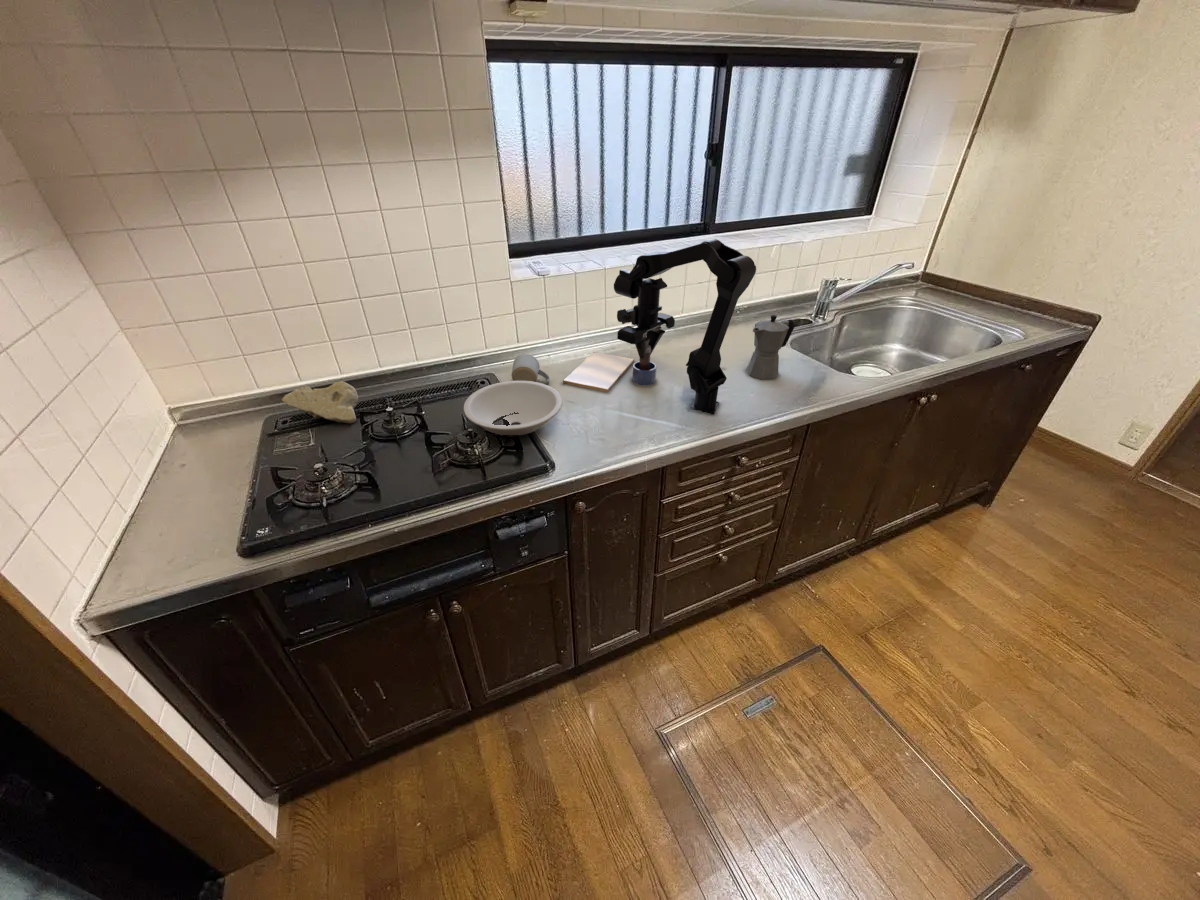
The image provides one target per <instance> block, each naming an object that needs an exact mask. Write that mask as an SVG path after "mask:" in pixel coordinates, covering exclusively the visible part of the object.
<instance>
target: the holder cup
mask: <svg viewBox="0 0 1200 900" xmlns="http://www.w3.org/2000/svg"><path fill="white" fill-rule="evenodd" d="M639 362H640V360H639V361H638V360H637V361H634V362H633V363H632V375H631V380H632V382H633V383H634V384H636V385H640V386H650V385H653V384H655V382H656V381H657V368H658V367H657V364H656V363H655V362H653V361H650V370H640V369H639Z"/></svg>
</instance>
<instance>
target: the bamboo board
mask: <svg viewBox="0 0 1200 900" xmlns="http://www.w3.org/2000/svg"><path fill="white" fill-rule="evenodd" d="M634 363H635V358H632V357H626V356H625V357H624V356H620V355H615V354H614V355H613V354H607V353H602V352H596V351H593V352H592V353H590V355H588V357H586V358H585V359H584V360H583V361H582V362H581V363H580V364H579V365H577V367H576V368H575V369H573V371H572V372H570V373H569V374H568V375H567V376H566V377H565V378H564V379H563V380H562V383H563V385H566V384H567V385H573V386H578V387H583V388H588V389H592V390H597V391H603V392H606V393H607V392H609V391H610V390H611V389H612V387H614V385H615V384H616V383H617V382H618V381H619V380H620V378H621V377H622V376H623V375H624V374H625V372H626V371H627V370H628V369H629V368H630V367H631V365H633V364H634Z"/></svg>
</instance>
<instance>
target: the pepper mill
mask: <svg viewBox="0 0 1200 900" xmlns="http://www.w3.org/2000/svg"><path fill="white" fill-rule="evenodd" d="M650 354H651V355H652V353H651V346H650V345H648V346H647V349H646V353H645V355H644V358H643V359H641V358H640V357H639V361H640V362H639V369H640V370H650V362H651V355H650Z"/></svg>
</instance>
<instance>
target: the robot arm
mask: <svg viewBox="0 0 1200 900" xmlns="http://www.w3.org/2000/svg"><path fill="white" fill-rule="evenodd" d="M699 261H703V262H704V263H705V264H706V266H707V267H708V269H709V271H710V272H711V274H713V275H714V276H715V277H716V282H715V285H716V292H717V298H716V300H715V303H714V306H713V309H712V311H711V315H710V318H709V321H708V323H707V327H706V329H705V330H706V331H705V333H704V336H703V338H702V342H701V345H700V347H698V348H696V349H694V350H692V351H690V353H689V355H688V361H687V363H686V364H685V366H686V374H687V375H688V380H689V386H690V390H693V391H694V392H695V394H694V399H693V402H692V404H691V405H690V410H693V411H699V412H701V413H705V414H709V415H715V414H716V411H717V409H718V407H719V405H720V402H719V401H718V395H719V394H718V393H719V387H720V386H722V385H725V382H726V381H727V375H726V374H725V373H724V371H723V369H722V367H721V362H722V355H721V348H722V345H723V342H724V339H725V336H726V334H727V331H728V328H729V326H730V323H731V320H732V318H733V315H734V312H735V310H736V306H737V304H738V301H739V299H740V297H741V296H742V295H743V293H744V292H745V291H747V288H749V286H750V284H751V282H752V281H753V279H754V277H755V275H756V272H757V266H756V264H755V261H754V260H753V259H752V257H750V256H748V255H744V254H743V253H742V252H740V251H738V250H737V249H735V248H732V247H730V246H728V245H726V244H724V243H723V242H722V241H721V240H719V239H717V238H711V239H707V240H704V241H702V242H701V243H698V244H694V245H691V246H687V247H683V248H680V249H676V250H673V251H666V250H660V251H653V252H650V253H645V254H642V255H639V256H638V257H637V258H636V261H635V264H634V265H633V267H632V268H631V270H629V269H627V268H622V269H620V270H619V271H618V272H619V273H618V275H617V276H616V278H615V280H614V283H613V291H614V293H616V294H617V295H619V296H624V297H627V298H630V299H637V304H636V305H634V306H633V308H629V309H626V308H623V309H619V310H617V312H616V319H617V322H618V323H621V324H622V325H626V324H628V323H631V325H632V326H637V327H632V326H630V325H627V326H624V327H622V328H620V329H618V330H617V331H616V332H617V335H616V336H617V337H616V338H617V340H619V341H621V342H625V343H627V344H631V345H635V348H636V351H637V354H638V357H639V359H640V358H641V359H643V358H644V355H645V353H646V349H647V346H648V345H650V346H651V354H650V356H651V355H652V353H653V352H654V350H655V348H656V347H657V345H658V343H659V342H660V340H661V339H662V337H663V335H664V334H666V330H664V329H662V325H665V327H666V328H667V329H671V328H674V327H675V325H676V324H675V323H676V320H675V318H674V316H673V315H670V314H666V313H664V312H661V311H662V310H663V306H662V305H660V296H661V295H660V293H661V290H663V289H666V288H668V284H667V283H666V282H665V281H664V279H663V278H662V277H659V278H655V279H654V278H653V277H656V276H659V275H662V274H664V273H666V272H668V271H670V270H671V269H673V268H675V267H679V266H680V267H681V266H683V265H687V264H688V265H689V264H691V263H695V262H699Z"/></svg>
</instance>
